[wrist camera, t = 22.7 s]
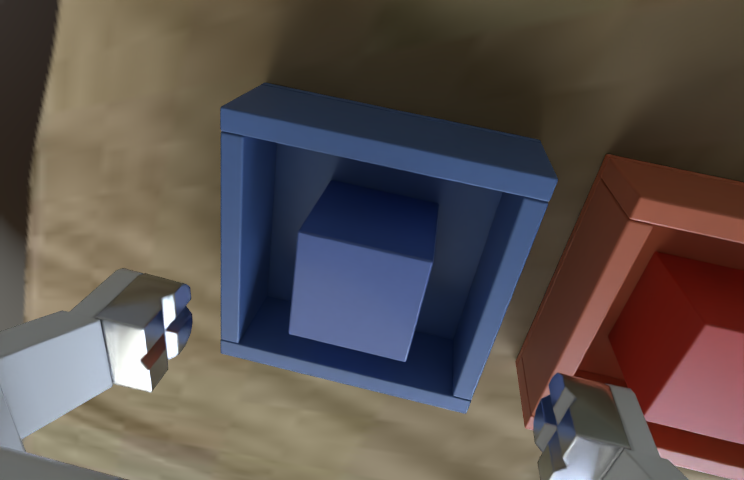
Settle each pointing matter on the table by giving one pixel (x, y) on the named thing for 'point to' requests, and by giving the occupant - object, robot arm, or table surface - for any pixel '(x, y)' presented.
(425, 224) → the blue block
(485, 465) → the table surface
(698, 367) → the red block
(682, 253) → the red bin
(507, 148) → the blue bin
